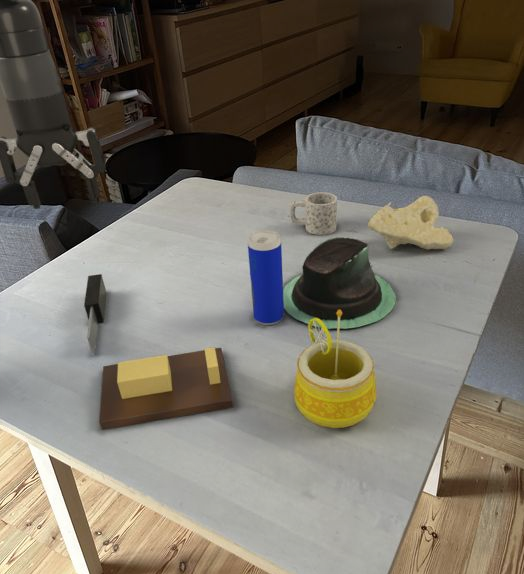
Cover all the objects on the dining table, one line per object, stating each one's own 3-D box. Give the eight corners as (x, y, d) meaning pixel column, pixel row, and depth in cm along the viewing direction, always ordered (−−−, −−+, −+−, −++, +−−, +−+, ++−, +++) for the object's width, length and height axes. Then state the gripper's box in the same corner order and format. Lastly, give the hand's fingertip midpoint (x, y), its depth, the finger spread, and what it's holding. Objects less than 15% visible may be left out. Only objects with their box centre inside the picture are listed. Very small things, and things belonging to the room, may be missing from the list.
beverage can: (261, 306, 93) (256, 227, 84) (288, 312, 92) (286, 232, 82) (248, 322, 90) (241, 241, 81) (276, 329, 88) (272, 247, 79)
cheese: (445, 241, 112) (395, 190, 111) (467, 227, 105) (414, 172, 104) (403, 289, 108) (351, 235, 107) (424, 277, 101) (368, 220, 100)
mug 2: (374, 438, 68) (382, 366, 61) (289, 430, 70) (287, 359, 63) (375, 373, 78) (382, 304, 71) (301, 367, 80) (300, 300, 73)
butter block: (122, 399, 75) (117, 382, 73) (122, 379, 78) (117, 362, 76) (172, 390, 75) (168, 373, 73) (170, 371, 79) (167, 354, 77)
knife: (93, 294, 100) (88, 275, 97) (106, 292, 100) (101, 273, 98) (86, 356, 85) (79, 336, 83) (101, 354, 85) (95, 334, 83)
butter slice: (210, 384, 76) (207, 367, 74) (207, 365, 79) (204, 348, 77) (220, 383, 76) (218, 365, 74) (217, 363, 79) (214, 346, 77)
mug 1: (338, 221, 118) (339, 192, 114) (334, 235, 113) (335, 205, 109) (293, 219, 120) (292, 191, 116) (287, 233, 115) (286, 203, 111)
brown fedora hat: (307, 254, 105) (409, 274, 98) (274, 337, 100) (380, 364, 93) (293, 206, 92) (410, 224, 85) (255, 299, 86) (377, 327, 79)
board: (101, 430, 72) (98, 422, 71) (105, 373, 81) (103, 366, 81) (233, 407, 74) (232, 399, 73) (222, 354, 83) (221, 347, 83)
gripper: (-29, 102, 69) (14, 219, 79) (84, 90, 71) (112, 207, 81) (-16, 89, 75) (23, 200, 85) (87, 79, 76) (113, 189, 87)
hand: (66, 203), depth 83 cm, fingers open, 8 cm apart
